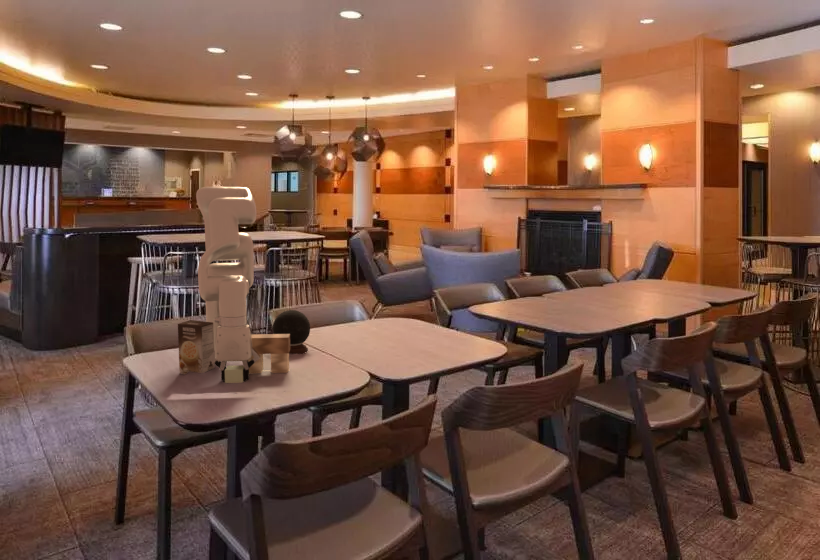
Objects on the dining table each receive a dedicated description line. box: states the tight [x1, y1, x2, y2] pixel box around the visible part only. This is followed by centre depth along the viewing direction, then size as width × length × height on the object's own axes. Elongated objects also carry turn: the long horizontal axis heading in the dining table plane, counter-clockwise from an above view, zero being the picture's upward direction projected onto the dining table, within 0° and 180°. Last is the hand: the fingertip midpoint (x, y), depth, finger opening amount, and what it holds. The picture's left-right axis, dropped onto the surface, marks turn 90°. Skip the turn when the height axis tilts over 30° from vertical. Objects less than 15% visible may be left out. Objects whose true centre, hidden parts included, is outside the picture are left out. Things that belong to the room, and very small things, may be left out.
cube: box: [224, 364, 244, 384], centre depth 178 cm, size 5×5×5 cm
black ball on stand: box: [272, 309, 311, 355], centre depth 216 cm, size 13×13×15 cm
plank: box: [251, 333, 290, 355], centre depth 187 cm, size 14×5×5 cm, turn 95°
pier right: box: [270, 353, 290, 374], centre depth 188 cm, size 5×5×6 cm
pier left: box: [249, 354, 264, 374], centre depth 187 cm, size 5×5×6 cm
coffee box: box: [177, 319, 216, 375], centre depth 189 cm, size 9×6×16 cm
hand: (235, 381), depth 178 cm, fingers closed on cube, 5 cm apart
